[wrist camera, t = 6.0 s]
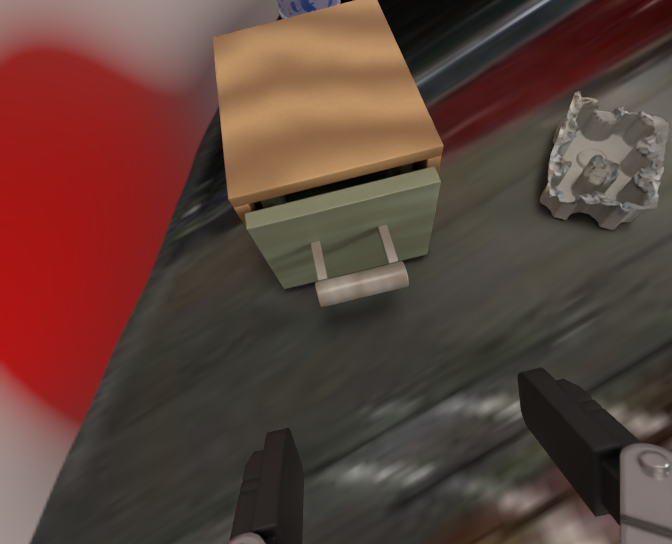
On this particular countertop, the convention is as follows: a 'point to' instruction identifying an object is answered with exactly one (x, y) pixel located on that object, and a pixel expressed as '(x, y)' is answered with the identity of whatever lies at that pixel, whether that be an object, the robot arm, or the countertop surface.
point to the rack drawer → (348, 232)
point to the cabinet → (317, 104)
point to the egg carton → (605, 163)
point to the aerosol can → (303, 6)
